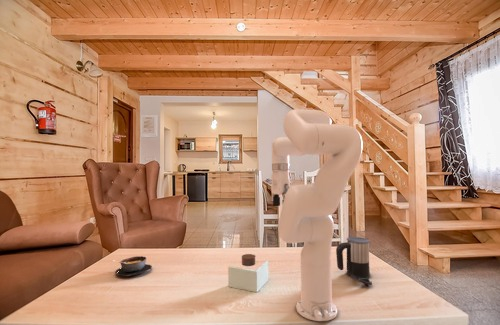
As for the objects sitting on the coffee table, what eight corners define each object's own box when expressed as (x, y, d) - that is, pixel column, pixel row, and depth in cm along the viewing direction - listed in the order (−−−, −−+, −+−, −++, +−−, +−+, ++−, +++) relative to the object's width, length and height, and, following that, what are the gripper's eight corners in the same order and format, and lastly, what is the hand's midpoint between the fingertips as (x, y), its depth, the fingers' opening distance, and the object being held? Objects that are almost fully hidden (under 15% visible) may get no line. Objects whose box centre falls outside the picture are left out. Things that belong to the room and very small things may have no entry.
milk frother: (358, 269, 118) (358, 235, 118) (389, 283, 103) (388, 245, 103) (333, 274, 112) (332, 239, 112) (361, 290, 98) (360, 249, 98)
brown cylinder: (255, 266, 102) (255, 258, 102) (241, 266, 103) (241, 258, 103) (255, 261, 108) (255, 253, 108) (242, 261, 108) (242, 254, 108)
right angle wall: (268, 279, 108) (268, 261, 108) (257, 292, 97) (256, 271, 97) (242, 274, 113) (242, 257, 113) (228, 286, 102) (228, 266, 102)
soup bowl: (152, 275, 113) (152, 258, 113) (110, 282, 107) (110, 263, 107) (151, 264, 127) (151, 248, 127) (114, 269, 121) (114, 252, 121)
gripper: (265, 168, 122) (265, 205, 122) (281, 168, 106) (282, 211, 106) (280, 167, 125) (280, 204, 124) (298, 167, 108) (298, 209, 108)
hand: (281, 207), depth 115 cm, fingers open, 9 cm apart
